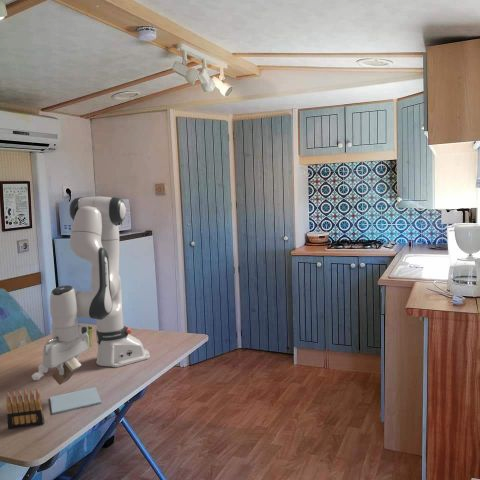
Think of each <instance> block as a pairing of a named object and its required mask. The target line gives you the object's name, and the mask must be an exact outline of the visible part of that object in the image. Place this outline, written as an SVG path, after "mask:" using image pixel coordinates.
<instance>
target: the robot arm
mask: <svg viewBox="0 0 480 480" xmlns="http://www.w3.org/2000/svg"><path fill="white" fill-rule="evenodd" d="M126 214H127V208H126V204H125V202H124V200H123V199H122V198H120V197H114V196H113V197H110V196H102V195H101V196H99V195H98V196H88V197H86V196H85V197H83V196H79V197H76V198H73V200H72V201H71V202H70V204H69V215H70V218H71V220H72V222H73V223H72V225H71V231H70V238H69V246H70V249H71V251H72V252H73V254H74V255H76V256H77V257H79V258H80V259H83V260H85V261H88V262H89V263H91V274H90V275H91V277H90V278H91V279H90V289H91V290H90V291H89V290H87V291H86V290H77V289H75V288H74V287H73V286H71V285H67V284H66V285H60V286H57V287H55V288H53V289H52V290H51V293H50V298H49V312H50V317H51V324H50V325H51V336H52V337H51V339H49V340H47V341H46V343H45V344H44V345H43V352H42V364H43V366H44V367H46V368H48V369H54V368H56V369H58V370H59V374H60V375H64V374H66V369H64V368H63V363H64V362H66V361H67V360H69V359H71V358H73V357H75V358H76V359H77V360H78V361H79V357H80V355H81V354H82V353H84V352H87V351H88V350H89V348H90V347H89V335H88V333H87V332H88V326H89V325H83V324H82V325H81V324H79V321H78V318H81V319H92V320H95V321H96V332H95V333H96V334H95V335H96V336H95V337H96V342H97V356H96V357H97V358H96V362H95V363H96V364H97V365H98V366H101V367H112V368H119V367H123V366H126V365H130V364H134V363H139V362H142V361H145V360H148V359H150V352H149V350H148V349H146V348H144V344H143V343H142V341H141V340H140V339H139V338H137V337H135V336H133V335H131V334H132V329H130V328H129V327H127V326H126V325H125V324H124V315H123V295H122V294H123V291H122V278H121V276H120V274H119V273H120V255H121V253H120V252H121V251H120V249H121V248H120V228H119V227H120V226H119V224H121V223H122V222H123V221H124V220H125V218H126Z"/></svg>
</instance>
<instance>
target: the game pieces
mask: <svg viewBox="0 0 480 480" xmlns="http://www.w3.org/2000/svg"><path fill="white" fill-rule="evenodd" d="M37 368H38V372H34V373H33V374H32V375H31V378H32V380H33V382H35V381H39V380H41V378H42V377H44V376H45V373H48V371H49V369H50V368H46V367H44V366H43V363H40V364H39V365H38V366H37Z"/></svg>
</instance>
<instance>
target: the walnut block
mask: <svg viewBox="0 0 480 480" xmlns="http://www.w3.org/2000/svg"><path fill="white" fill-rule="evenodd" d="M81 366H82V364H81V362H79V359H78V360H77V359H76V358H75V357H73V358H71V359H69V360H67V361H66V362H64V363H63V368H64V369H66V374H64V375H60V374H59V370H58V368H56V370H55V371H54V372H53V374H52V375H51V377H52V378H53V379H54V380H55V381H56V383H57V384H58V385H59V386H60V385H62V384H64V383H66V382H68V381H69V380H70V379H71V377H73V375H74V374H75V373H76V372H78V371H77V370H79V369H80V367H81Z"/></svg>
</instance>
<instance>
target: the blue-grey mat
mask: <svg viewBox="0 0 480 480" xmlns="http://www.w3.org/2000/svg"><path fill="white" fill-rule="evenodd" d="M49 399H50V400H49V401H50V407H51V415H56V414H57V415H58V414H61V413H66V412H69V411H73V410H78V409H83V408H88V407H91V406H97V405H100V404H101V405H102V400H101V397H100V394H99V392H98V390H97V387H96V386H95V387H91V388H86V389H85V388H84V389H81V390H77V391H73V392H71V391H70V392H68V393H63V394H58V395H53V396H50V397H49Z"/></svg>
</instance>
